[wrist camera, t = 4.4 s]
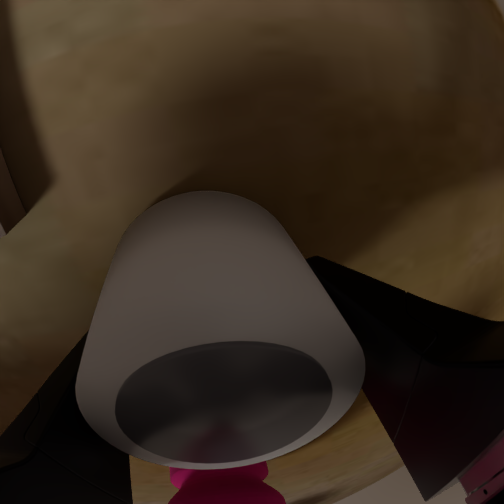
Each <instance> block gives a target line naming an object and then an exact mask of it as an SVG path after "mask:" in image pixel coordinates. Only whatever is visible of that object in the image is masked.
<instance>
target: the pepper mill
mask: <svg viewBox="0 0 504 504" xmlns="http://www.w3.org/2000/svg"><path fill="white" fill-rule="evenodd" d="M267 475H268V467H267V463H266V461H263V462H259V463H255V464H250V465H246V466H240V467H233V468H225V469H184V468H176V467H170V479H171V483H172V484H173V485H174V486H175V487H177V488H178V489H180V490H179V491H178V492H177V493H176V494H175V496H174V497H173V498H172V499H171V500H170V501H169V503H168V504H286V502H285V499H284V497H283V496H282V495H281V494H280V493H279V492H278V491H277V490H275V489H274V488H272V487H271V486H269V485H267V484H266V483H264V482H263V480H264V479H265V478H266V477H267Z"/></svg>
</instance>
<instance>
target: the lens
mask: <svg viewBox="0 0 504 504" xmlns="http://www.w3.org/2000/svg"><path fill="white" fill-rule="evenodd" d="M364 376H365V357H364V354H363V350H362V348H361V346H360V344H359V342H358V340H357V339H356V337H355V335H354V334H353V332H352V331H351V329H350V328H349V326H348V324H347V323H346V321H345V320H344V318H343V317H342V315H341V313H340V312H339V310H338V309H337V307H336V306H335V304H334V303H333V301H332V299H331V298H330V296H329V295H328V293H327V292H326V290H325V289H324V287H323V286H322V284H321V283H320V281H319V280H318V278H317V277H316V275H315V274H314V272H313V271H312V269H311V268H310V266H309V265H308V263H307V262H306V260H305V259H304V257H303V256H302V254H301V253H300V251H299V250H298V248H297V247H296V245H295V244H294V242H293V241H292V239H291V238H290V236H289V235H288V233H287V232H286V230H285V229H284V228H283V226H282V225H281V224H280V222H279V221H278V220H277V219H276V218H275V217H274V216H273V215H272V214H271V213H270V212H268V211H267V210H266V209H265V208H263V207H262V206H260V205H258V204H257V203H255V202H253V201H251V200H249V199H246V198H244V197H242V196H238V195H235V194H231V193H226V192H220V191H194V192H187V193H183V194H179V195H175V196H172V197H170V198H167V199H164V200H162V201H160V202H158V203H156V204H155V205H153V206H151V207H150V208H148V209H147V210H146V211H144V212H143V213H142V214H140V215H139V216H138V217H137V218H136V219H135V220H134V221H133V222H132V223H131V224H130V226H129V227H128V228H127V230H126V231H125V233H124V234H123V236H122V238H121V240H120V242H119V244H118V246H117V249H116V251H115V254H114V257H113V259H112V262H111V265H110V268H109V270H108V273H107V276H106V279H105V282H104V285H103V288H102V291H101V294H100V297H99V300H98V303H97V306H96V309H95V312H94V315H93V319H92V322H91V325H90V329H89V332H88V336H87V339H86V343H85V347H84V350H83V354H82V358H81V362H80V366H79V370H78V374H77V379H76V386H75V390H76V400H77V403H78V406H79V409H80V411H81V413H82V415H83V417H84V419H85V420H86V421H87V423H88V424H89V425H90V427H91V428H92V429H93V430H94V431H95V432H96V433H97V434H98V435H99V436H100V437H102V438H103V439H104V440H106V441H107V442H108V443H110V444H111V445H113V446H114V447H116V448H118V449H119V450H121V451H123V452H125V453H127V454H129V455H132V456H134V457H137V458H139V459H142V460H145V461H148V462H152V463H155V464H159V465H164V466H169V467H176V468H184V469H225V468H233V467H240V466H246V465H250V464H255V463H259V462H263V461H266V460H270V459H273V458H275V457H278V456H281V455H284V454H286V453H288V452H291V451H293V450H295V449H297V448H299V447H301V446H303V445H305V444H307V443H309V442H310V441H312V440H314V439H315V438H317V437H318V436H320V435H321V434H323V433H324V432H325V431H327V430H328V429H329V428H330V427H332V426H333V425H334V424H335V423H336V422H337V421H338V420H339V419H340V418H341V417H342V416H343V415H344V414H345V413H346V412H347V411H348V409H349V408H350V407H351V405H352V404H353V403H354V401H355V399H356V397H357V396H358V394H359V392H360V390H361V387H362V384H363V381H364Z"/></svg>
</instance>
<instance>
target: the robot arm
mask: <svg viewBox="0 0 504 504" xmlns="http://www.w3.org/2000/svg"><path fill="white" fill-rule="evenodd" d="M305 260H306V262H307V263H308V265H309V266H310V268H311V269H312V271H313V272H314V274H315V275H316V277H317V278H318V280H319V281H320V283H321V284H322V286H323V287H324V289H325V290H326V292H327V293H328V295H329V296H330V298H331V299H332V301H333V303H334V304H335V306H336V307H337V309H338V310H339V312H340V313H341V315H342V317H343V318H344V320H345V321H346V323H347V324H348V326H349V328H350V329H351V331H352V332H353V334H354V335H355V337H356V339H357V340H358V342H359V344H360V346H361V348H362V350H363V354H364V357H365V376H364V381H363V384H362V387H361V388H362V390H363V391H364V393H365V395H366V397H367V398H368V400H369V402H370V403H371V405H372V407H373V409H374V410H375V412H376V414H377V416H378V417H379V419H380V421H381V423H382V424H383V426H384V428H385V430H386V431H387V433H388V435H389V437H390V439H391V440H392V442H393V443H394V446H395V448H396V449H397V451H398V453H399V455H400V457H401V458H402V460H403V462H404V464H405V466H406V467H407V469H408V471H409V473H410V474H411V476H412V478H413V480H414V482H415V484H416V485H417V487H418V489H419V491H420V493H421V495H422V497H423V498H424V500H425V501H428V500H430V499H432V498H433V497H435V496H437V495H438V494H440V493H442V492H443V491H445V490H447V489H448V488H450V487H451V486H453V485H455V484H456V483H458V482H460V484H461V486H462V488H463V490H464V491H465V493H466V495H467V498H466V499H465V501H466V503H467V504H504V321H491V320H487V319H484V318H481V317H477V316H474V315H471V314H468V313H465V312H461V311H458V310H455V309H452V308H449V307H446V306H443V305H440V304H437V303H434V302H431V301H429V300H426V299H423V298H421V297H418V296H416V295H413V294H411V293H409V292H407V293H406V292H405V291H404V290H401V289H399V288H396V287H394V286H392V285H389V284H387V283H384V282H382V281H379V280H377V279H374V278H372V277H370V276H367V275H365V274H362V273H360V272H357V271H355V270H352V269H350V268H347V267H345V266H342V265H340V264H337V263H335V262H332V261H330V260H327V259H325V258H322V257H320V256H314V257H311V258H307V259H305ZM88 332H89V331H88ZM88 332H87V333H86V334H85V335H84V336H83V337H82V339H81V340H80V341H79V342H78V343H77V344H76V346H75V347H74V348H73V349H72V350H71V351H70V353H69V354H68V355H67V356H66V357H65V358H64V360H63V361H62V362H61V363H60V364H59V366H58V367H57V368H56V369H55V371H54V372H53V373H52V374H51V375H50V377H49V378H48V379H47V380H46V382H45V383H44V384H43V385H42V387H41V388H40V389H39V390H38V393H36V394H35V395H34V397H33V398H32V399H31V400H30V402H29V403H28V404H27V405H26V407H25V408H24V409H23V410H22V412H21V413H20V414H19V415H18V416H17V417H16V419H15V420H14V421H13V422H12V423H11V424H10V426H9V427H8V428H7V429H6V430H5V431H4V432H3V434H2V435H1V436H0V504H133V500H132V489H131V478H130V463H129V454H127V453H125V452H123V451H121V450H119V449H118V448H116V447H114V446H113V445H111V444H110V443H108V442H107V441H106V440H104V439H103V438H102V437H100V436H99V435H98V434H97V433H96V432H95V431H94V430H93V429H92V428H91V427H90V425H89V424H88V423H87V421H86V420H85V419H84V417H83V415H82V413H81V411H80V409H79V406H78V403H77V400H76V390H75V386H76V379H77V374H78V370H79V366H80V362H81V358H82V354H83V350H84V347H85V343H86V339H87V336H88Z"/></svg>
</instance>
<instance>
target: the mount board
mask: <svg viewBox="0 0 504 504" xmlns="http://www.w3.org/2000/svg"><path fill="white" fill-rule="evenodd" d="M25 216H26V212H25V210H24V208H23V206H22V203H21V201H20V198H19V196H18V194H17V191H16V189H15V186H14V184H13V181H12V179H11V176H10V173H9V171H8V168H7V165H6V162H5V160H4V157H3V154H2V151H1V148H0V238H1V237H3V236H5V235H6V234H7V233H8V232H9V231H10V230H11V229H12V228H13V227H14V226H15V225H16V224H17V223H18V222H19V221H20V220H22V219H23V218H24V217H25Z"/></svg>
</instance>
